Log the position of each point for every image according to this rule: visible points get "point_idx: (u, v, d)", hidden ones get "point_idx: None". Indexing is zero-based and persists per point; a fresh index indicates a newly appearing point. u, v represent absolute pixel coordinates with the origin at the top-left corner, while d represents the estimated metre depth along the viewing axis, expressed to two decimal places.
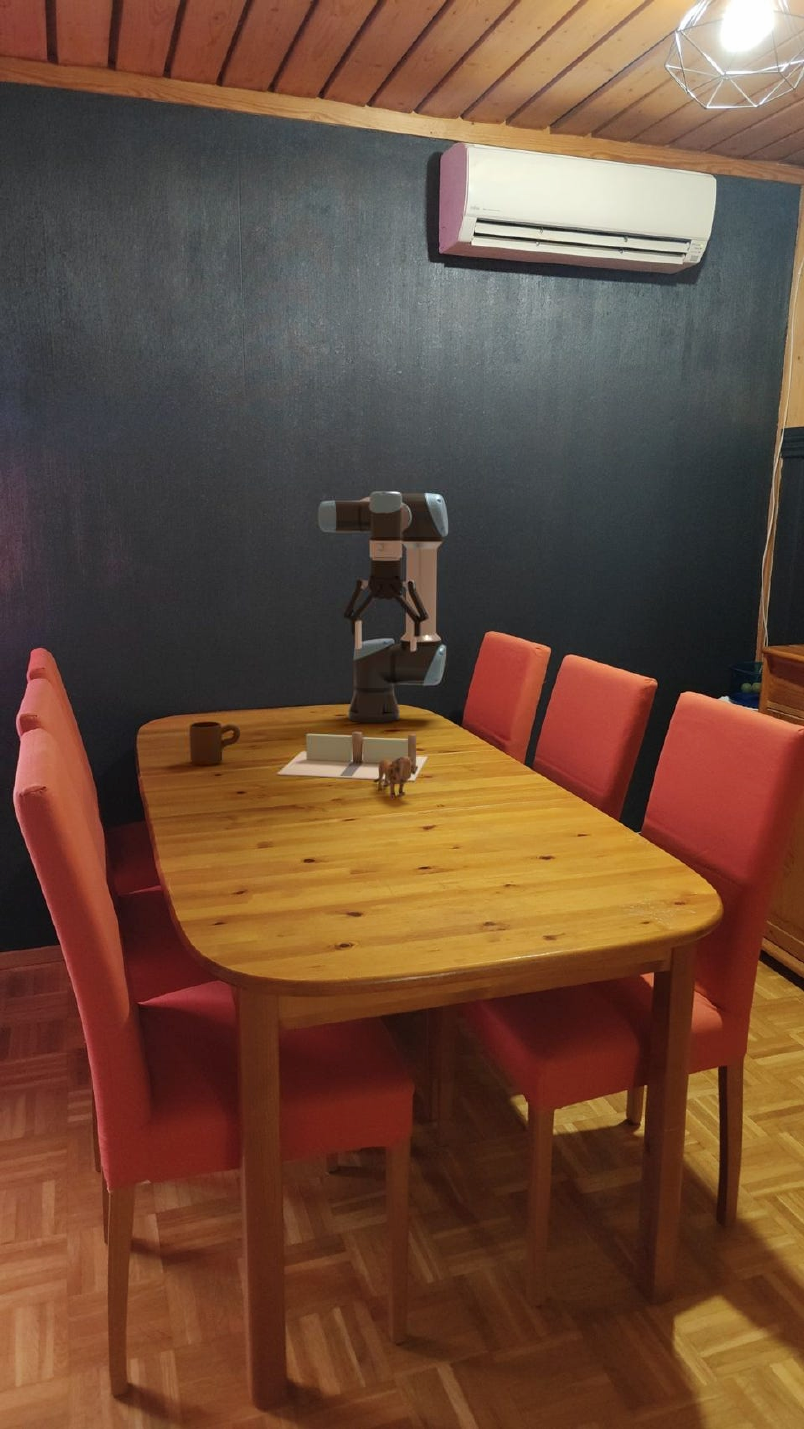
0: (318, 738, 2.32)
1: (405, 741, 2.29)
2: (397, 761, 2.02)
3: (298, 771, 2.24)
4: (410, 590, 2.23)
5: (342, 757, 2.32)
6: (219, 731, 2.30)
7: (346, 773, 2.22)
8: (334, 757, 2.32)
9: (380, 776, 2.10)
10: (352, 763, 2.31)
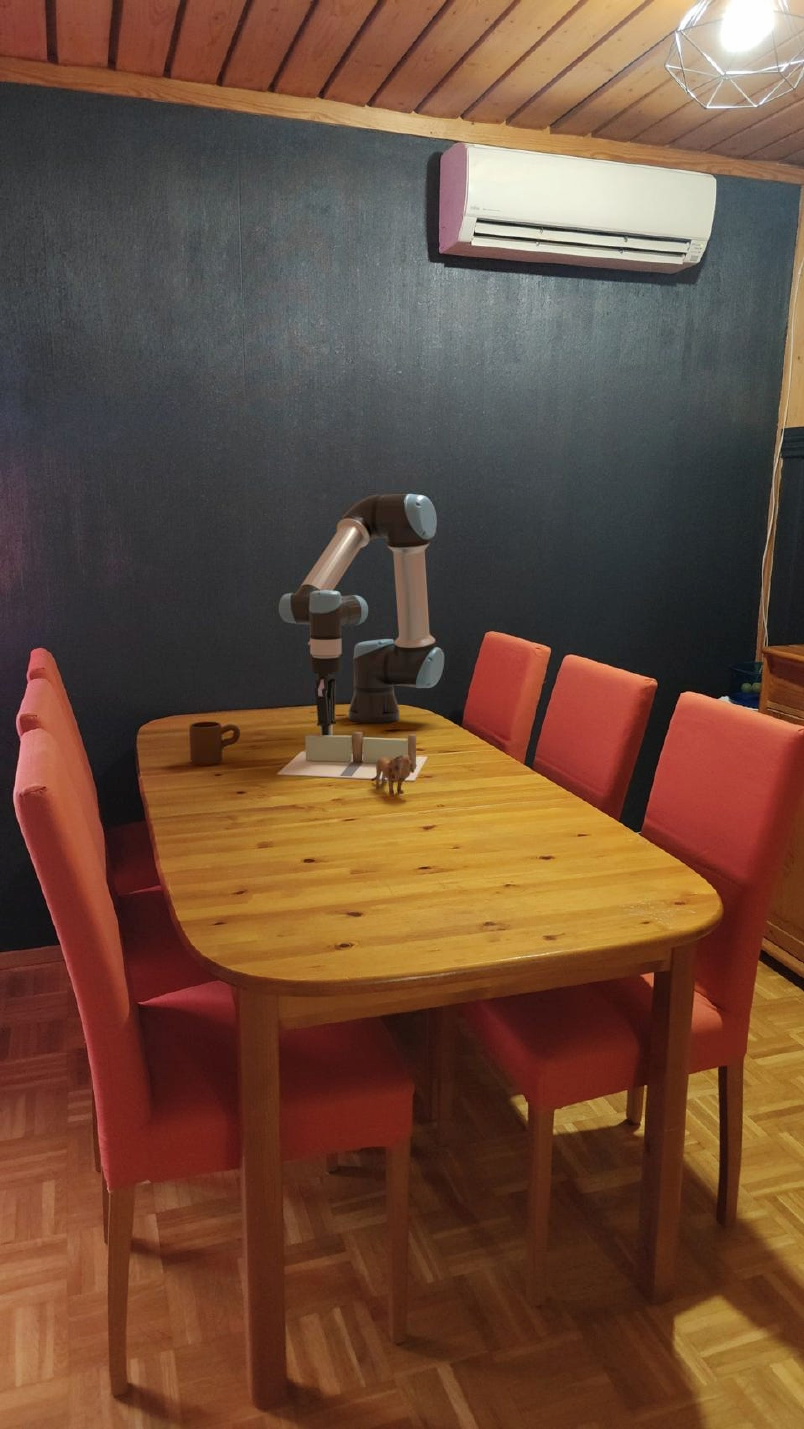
0: (318, 738, 2.31)
1: (405, 741, 2.29)
2: (396, 759, 2.04)
3: (298, 771, 2.24)
4: None
5: (342, 758, 2.32)
6: (219, 731, 2.30)
7: (346, 773, 2.22)
8: (334, 758, 2.32)
9: (378, 775, 2.11)
10: (352, 763, 2.31)
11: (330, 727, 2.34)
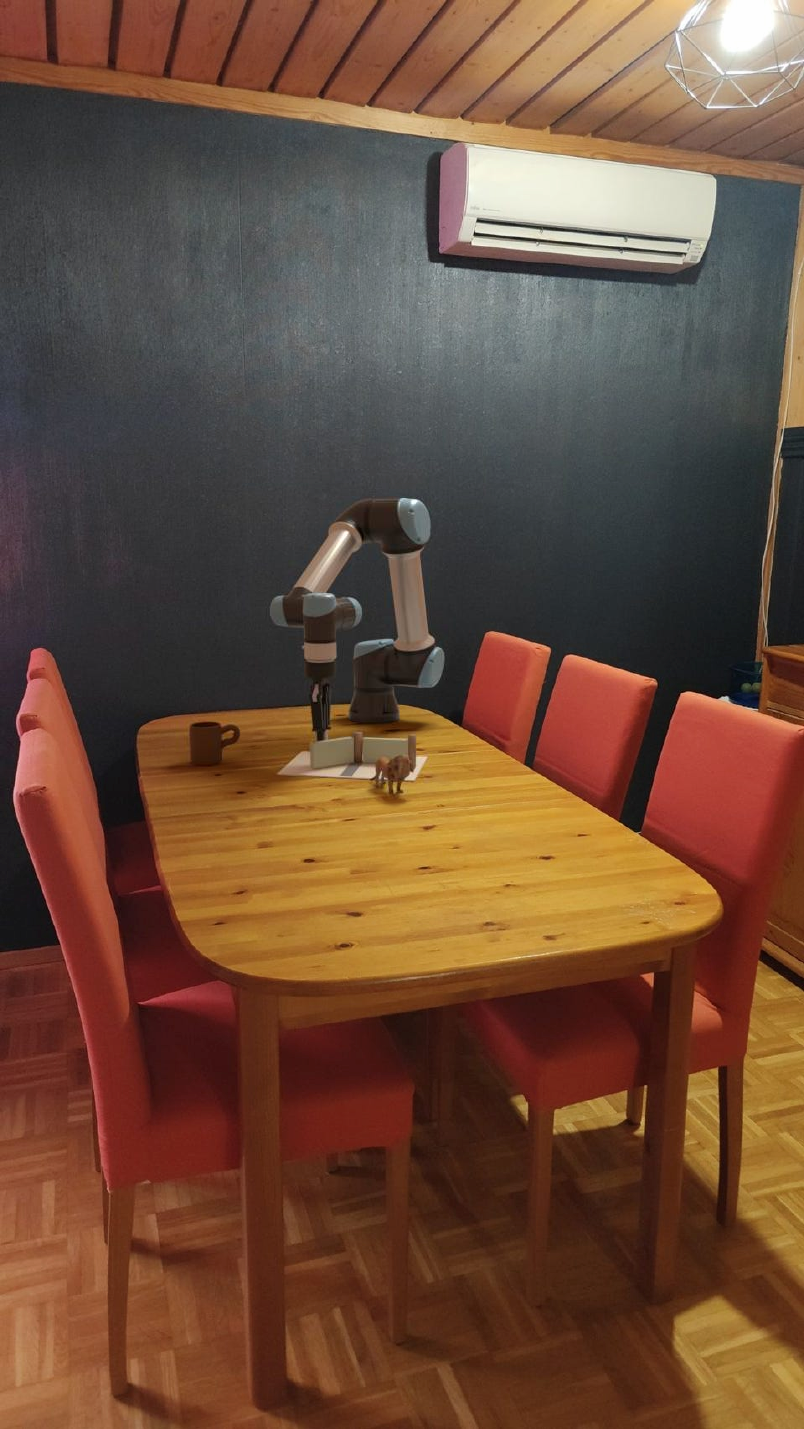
0: (324, 744, 2.26)
1: (405, 741, 2.29)
2: (395, 759, 2.04)
3: (298, 771, 2.24)
4: None
5: (346, 760, 2.30)
6: (219, 731, 2.30)
7: (346, 773, 2.22)
8: (339, 761, 2.29)
9: (377, 774, 2.11)
10: (352, 763, 2.31)
11: (325, 733, 2.28)
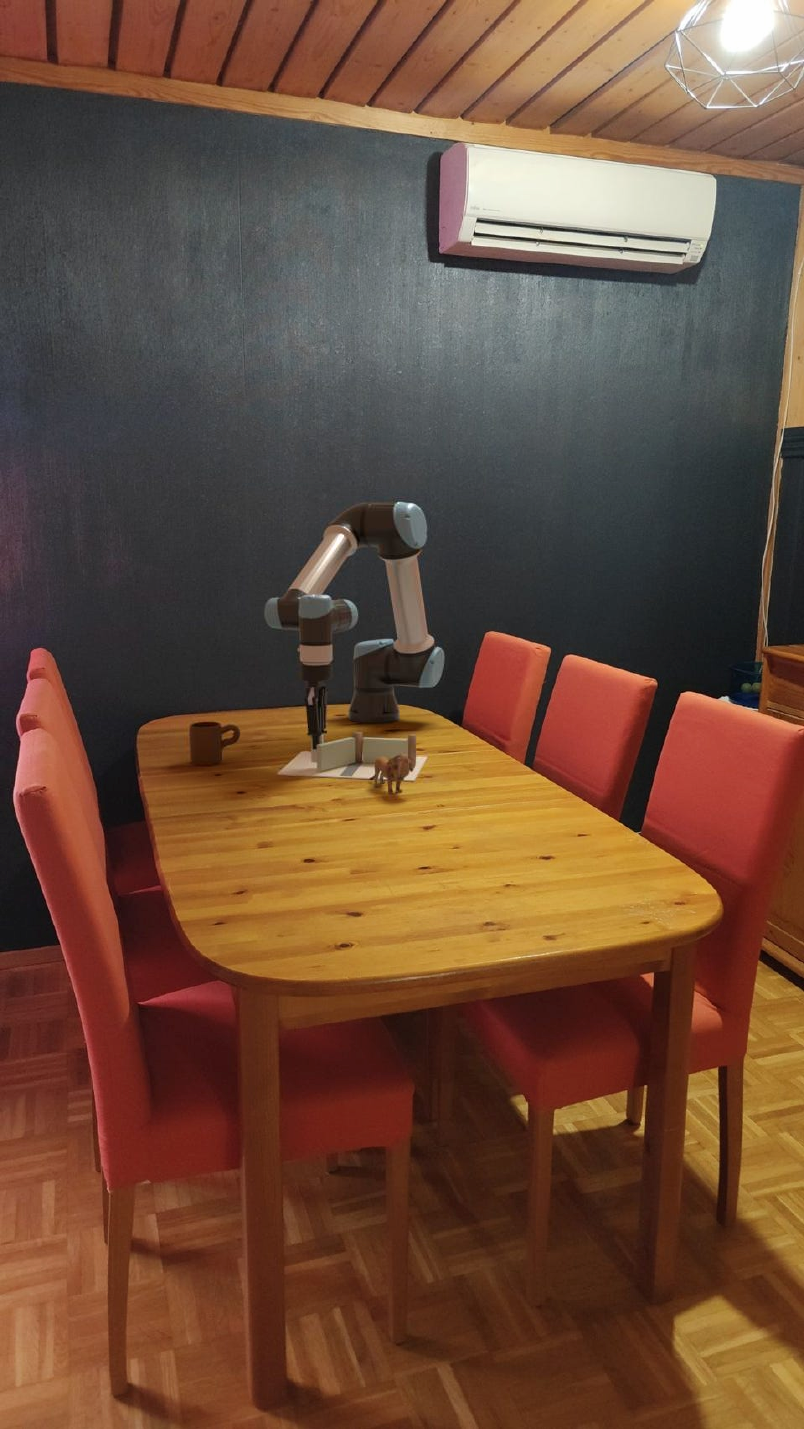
0: (331, 746, 2.24)
1: (405, 741, 2.29)
2: (395, 759, 2.04)
3: (298, 771, 2.24)
4: None
5: (349, 760, 2.29)
6: (219, 731, 2.30)
7: (346, 773, 2.22)
8: (343, 762, 2.28)
9: (376, 774, 2.11)
10: (352, 763, 2.31)
11: (321, 737, 2.24)
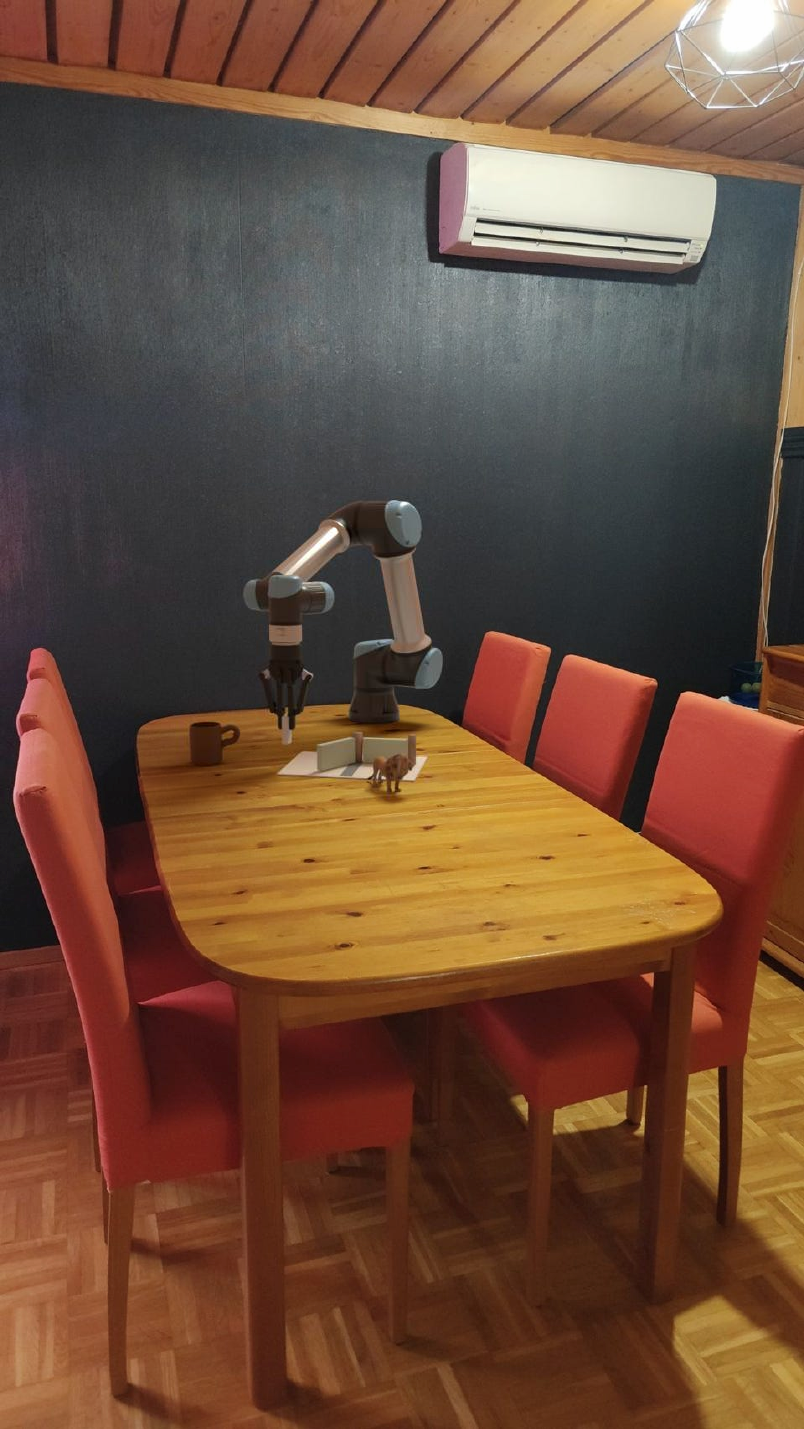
0: (331, 746, 2.24)
1: (405, 741, 2.29)
2: (394, 758, 2.05)
3: (298, 771, 2.24)
4: (304, 682, 2.21)
5: (349, 760, 2.29)
6: (219, 731, 2.30)
7: (346, 773, 2.22)
8: (343, 762, 2.28)
9: (375, 773, 2.12)
10: (352, 763, 2.31)
11: None
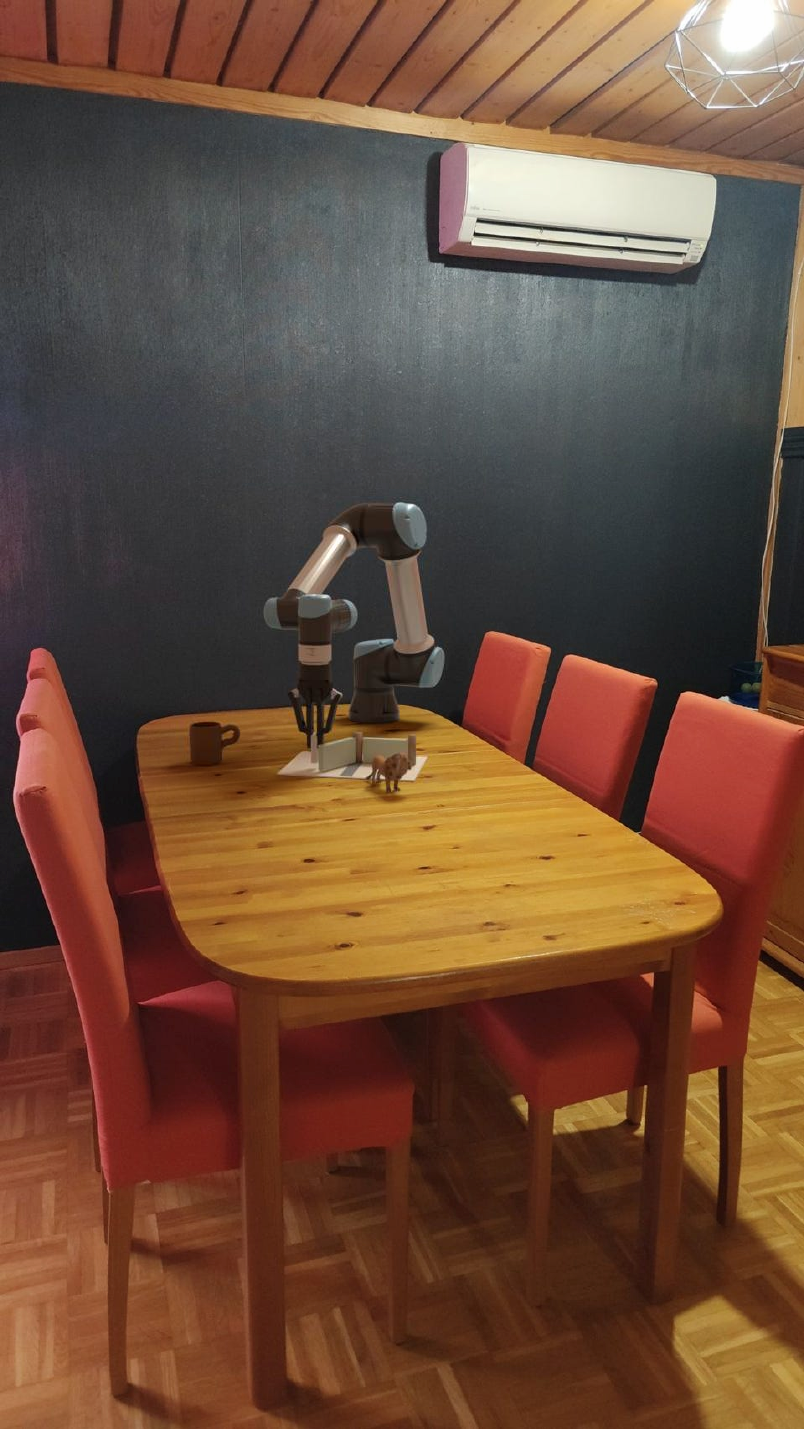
0: (332, 746, 2.24)
1: (405, 741, 2.29)
2: (393, 757, 2.06)
3: (298, 771, 2.24)
4: (333, 701, 2.21)
5: (350, 760, 2.29)
6: (219, 731, 2.30)
7: (346, 773, 2.22)
8: (344, 762, 2.28)
9: (374, 773, 2.13)
10: (352, 763, 2.31)
11: None
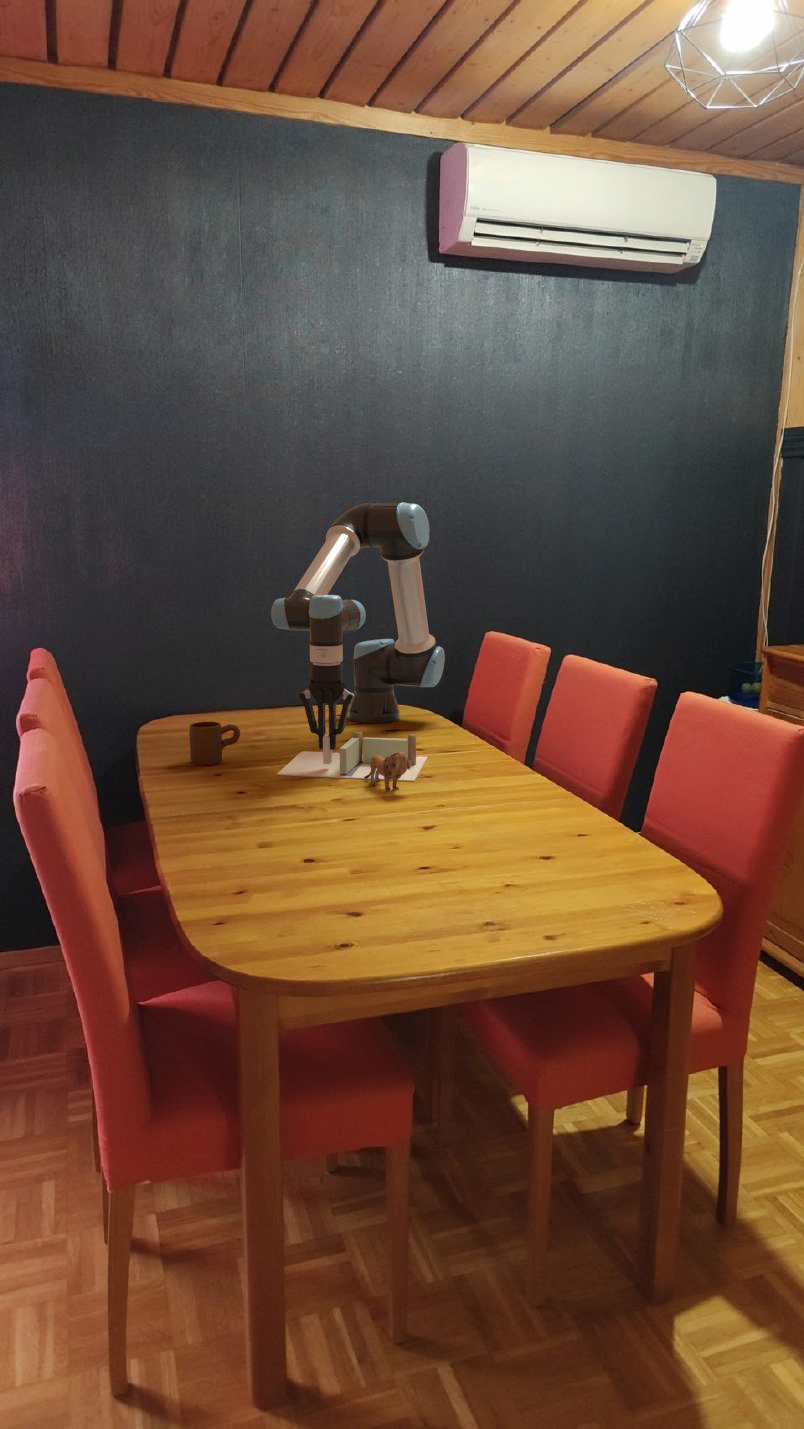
0: (349, 748, 2.22)
1: (405, 741, 2.29)
2: (392, 757, 2.06)
3: (298, 771, 2.24)
4: (345, 702, 2.21)
5: (356, 761, 2.29)
6: (219, 731, 2.30)
7: None
8: (354, 763, 2.27)
9: (372, 772, 2.13)
10: None
11: None
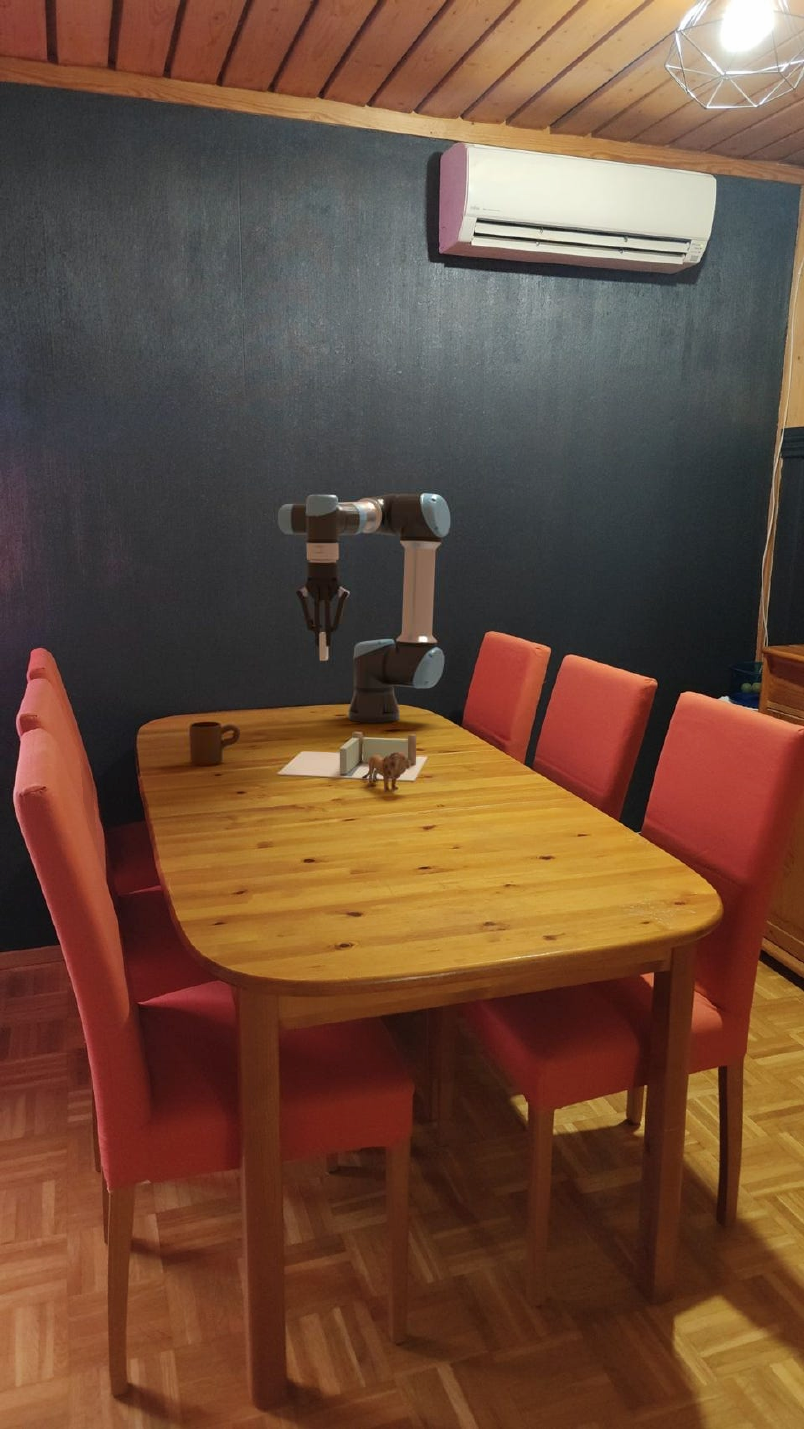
0: (349, 748, 2.22)
1: (405, 741, 2.29)
2: (391, 756, 2.06)
3: (298, 771, 2.24)
4: (341, 599, 2.28)
5: (356, 761, 2.29)
6: (219, 731, 2.30)
7: None
8: (354, 763, 2.27)
9: (371, 772, 2.13)
10: None
11: None
